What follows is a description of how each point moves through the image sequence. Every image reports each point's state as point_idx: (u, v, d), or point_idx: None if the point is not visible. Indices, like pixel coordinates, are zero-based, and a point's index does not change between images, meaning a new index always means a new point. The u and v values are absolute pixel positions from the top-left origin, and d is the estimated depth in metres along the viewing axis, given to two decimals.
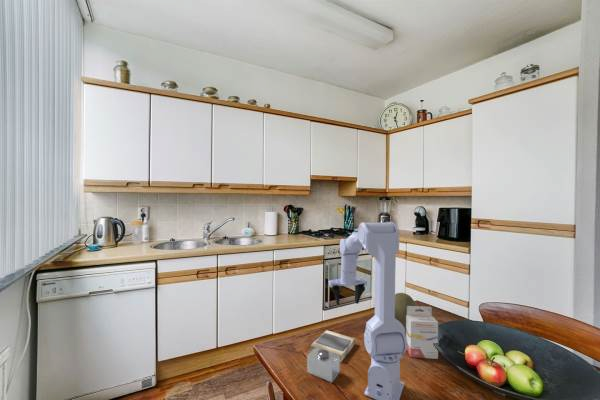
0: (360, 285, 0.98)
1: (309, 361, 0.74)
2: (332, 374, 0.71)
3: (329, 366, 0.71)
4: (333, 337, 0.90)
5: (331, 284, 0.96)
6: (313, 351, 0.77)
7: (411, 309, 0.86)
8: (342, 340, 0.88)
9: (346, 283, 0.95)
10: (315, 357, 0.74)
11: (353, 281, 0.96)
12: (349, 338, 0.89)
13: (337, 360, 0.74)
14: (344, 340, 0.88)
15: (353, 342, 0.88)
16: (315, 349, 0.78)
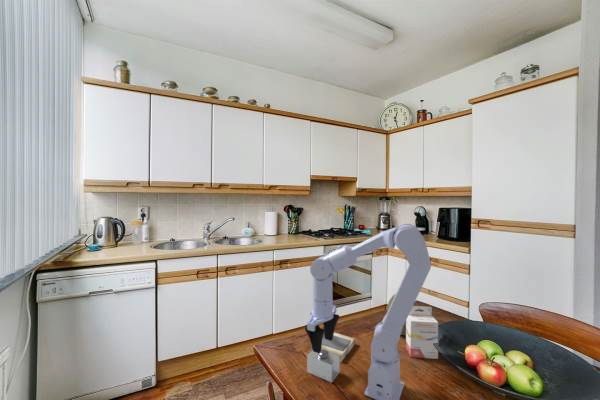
0: None
1: (309, 361, 0.74)
2: (332, 374, 0.71)
3: (329, 366, 0.71)
4: (333, 337, 0.90)
5: (314, 326, 0.69)
6: (313, 351, 0.77)
7: (411, 309, 0.86)
8: (342, 340, 0.88)
9: (328, 317, 0.72)
10: (315, 357, 0.74)
11: (332, 311, 0.75)
12: (349, 338, 0.89)
13: (337, 360, 0.73)
14: (344, 340, 0.88)
15: (353, 342, 0.88)
16: None
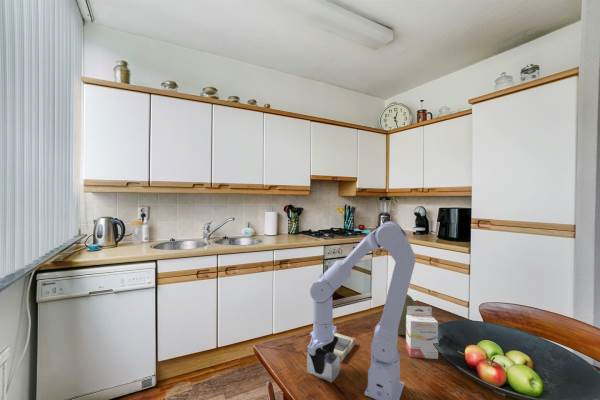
0: None
1: (309, 361, 0.74)
2: (332, 374, 0.71)
3: (329, 365, 0.71)
4: None
5: (314, 350, 0.69)
6: None
7: (411, 309, 0.86)
8: (342, 340, 0.88)
9: (328, 339, 0.72)
10: None
11: (332, 333, 0.74)
12: (349, 338, 0.89)
13: (337, 360, 0.73)
14: (344, 340, 0.88)
15: (353, 342, 0.88)
16: None
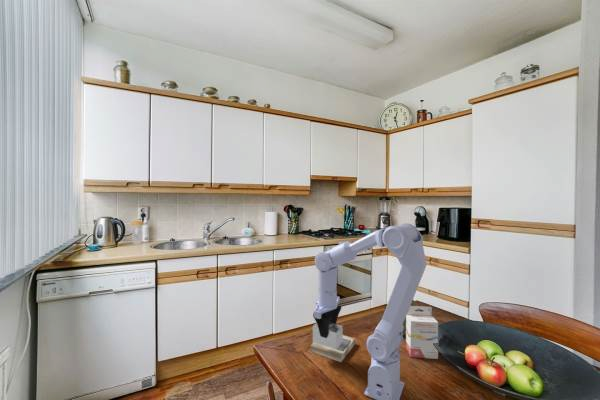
0: None
1: (315, 331, 0.80)
2: (336, 341, 0.77)
3: (334, 334, 0.77)
4: None
5: (320, 314, 0.74)
6: None
7: (411, 309, 0.86)
8: None
9: (333, 306, 0.78)
10: None
11: (336, 301, 0.80)
12: (349, 338, 0.89)
13: (340, 329, 0.80)
14: (344, 340, 0.88)
15: (353, 342, 0.88)
16: None
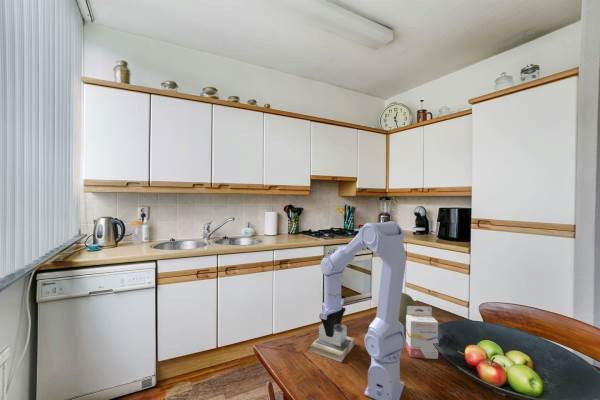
0: None
1: (321, 331, 0.87)
2: (341, 340, 0.84)
3: (338, 333, 0.83)
4: None
5: (326, 315, 0.81)
6: None
7: (411, 309, 0.86)
8: None
9: (337, 308, 0.85)
10: None
11: (341, 303, 0.87)
12: (349, 338, 0.89)
13: (345, 329, 0.86)
14: None
15: (353, 342, 0.88)
16: None
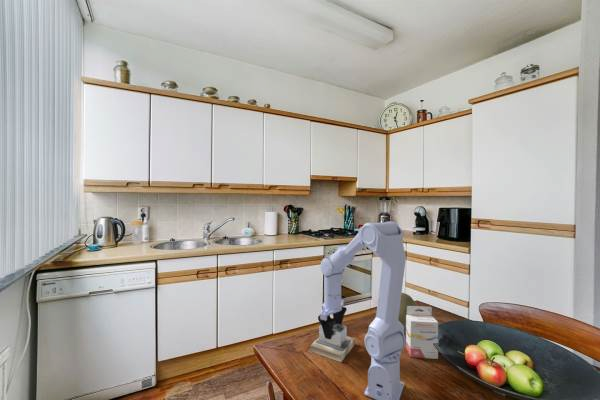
0: None
1: (321, 331, 0.87)
2: (341, 340, 0.83)
3: (338, 333, 0.83)
4: None
5: (326, 316, 0.81)
6: None
7: (411, 309, 0.86)
8: None
9: (337, 308, 0.85)
10: None
11: (341, 304, 0.87)
12: (349, 338, 0.89)
13: (345, 329, 0.86)
14: None
15: (353, 342, 0.88)
16: None
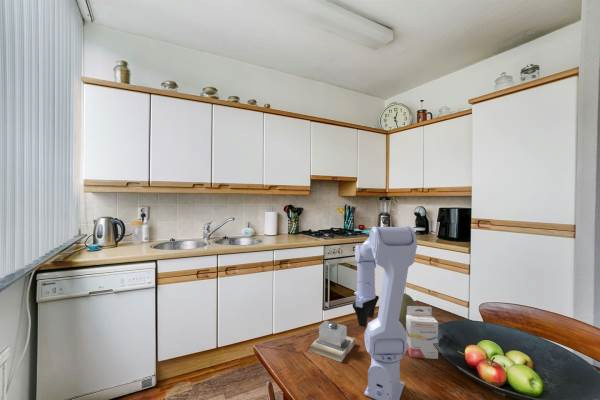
0: None
1: (321, 331, 0.87)
2: (341, 340, 0.83)
3: (338, 333, 0.83)
4: None
5: (362, 303, 0.80)
6: (324, 323, 0.89)
7: (411, 309, 0.86)
8: None
9: (372, 296, 0.84)
10: (326, 327, 0.86)
11: None
12: (349, 338, 0.89)
13: (345, 329, 0.86)
14: None
15: (353, 342, 0.88)
16: (325, 321, 0.90)
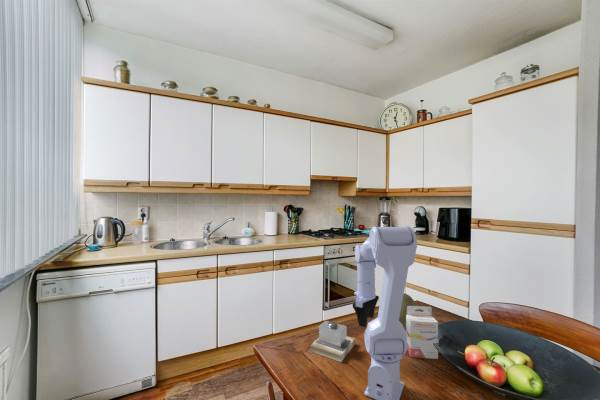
0: None
1: (321, 331, 0.87)
2: (341, 340, 0.83)
3: (338, 333, 0.83)
4: None
5: (362, 303, 0.80)
6: (324, 323, 0.89)
7: (411, 309, 0.86)
8: None
9: (372, 296, 0.84)
10: (326, 327, 0.86)
11: None
12: (349, 338, 0.89)
13: (345, 329, 0.86)
14: None
15: (353, 342, 0.88)
16: (325, 321, 0.90)
